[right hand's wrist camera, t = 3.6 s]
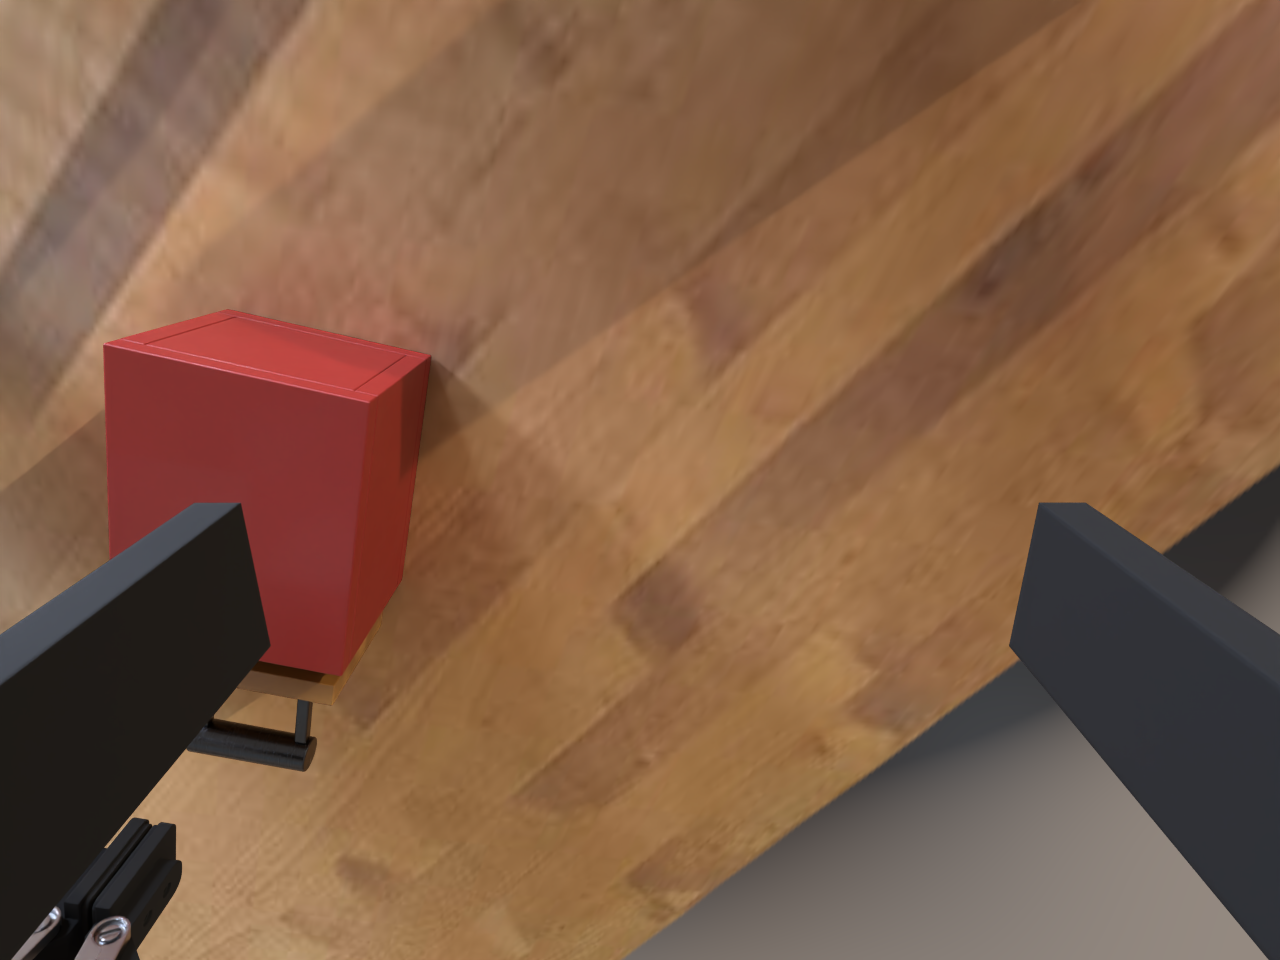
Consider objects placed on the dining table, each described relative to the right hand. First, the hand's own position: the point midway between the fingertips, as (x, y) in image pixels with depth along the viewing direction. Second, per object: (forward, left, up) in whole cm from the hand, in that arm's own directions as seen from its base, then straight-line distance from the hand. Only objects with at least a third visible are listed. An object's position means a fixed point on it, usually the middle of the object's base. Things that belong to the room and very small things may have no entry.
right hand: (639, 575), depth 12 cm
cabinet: (-2, -18, -26) cm, 32 cm away
